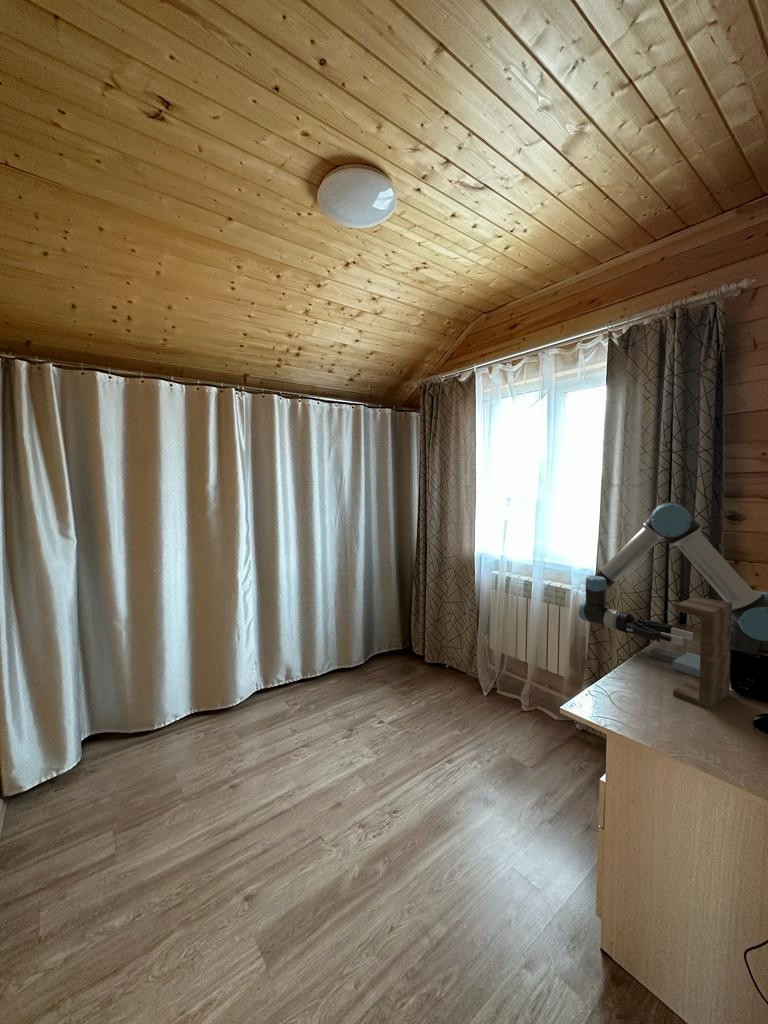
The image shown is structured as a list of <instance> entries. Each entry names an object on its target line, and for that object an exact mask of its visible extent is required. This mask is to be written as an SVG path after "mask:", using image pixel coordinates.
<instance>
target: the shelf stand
mask: <svg viewBox="0 0 768 1024" xmlns="http://www.w3.org/2000/svg"><path fill="white" fill-rule="evenodd" d="M674 610H675V612H678V613H683V614H688V615H691V616H697V617H701V620H700V621H701V622H700V650H699V651H700V653H699V656H700V677H699V678H698V677H697V678H696V677H692V678H690V679H689V680H687V681H686V682H685V683H682V684H681V685H680V686H678V687H676V688H675V689H673V691H672V694H673V696H675V697H677V698H680V699H682V700H684V701H688V702H690V703H693V704H696V705H697V706H700V707H703V708H705V709H708V710H710V709H712V708H713V707H714V706H716V705H717V704H718V703H719V702H721V701H722V700H723V699H724V698H726V697H727V696H728V695H729V694H730V675H731V674H730V673H731V672H730V671H731V669H730V668H731V652H730V649H731V620H732V603H729V602H725V600H723V601H722V600H718V599H713V598H706V597H702V596H697V595H696V596H694V597H690V598H689V599H685V600H682V601H680V602H678V603H675V606H674Z"/></svg>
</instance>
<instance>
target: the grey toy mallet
mask: <svg viewBox="0 0 768 1024" xmlns="http://www.w3.org/2000/svg"><path fill="white" fill-rule="evenodd" d="M650 656H651V657H650ZM649 657H650V658H652V657H654V658H653V659H656V658H657V660H659V661H663V662H666V663H669V664H671V665H672V669H673V670H676V671H679V672H682V673H684V674H688V675H692V676H695V677H697V678H700V654H699V655H698V654H695V653H692V652H686V653H685V654H683V655H681V654H678V653H675V652H671V651H669V650H664V649H661V648H658V647H654V648H651V649H650V650H649Z"/></svg>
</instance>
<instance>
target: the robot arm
mask: <svg viewBox="0 0 768 1024" xmlns="http://www.w3.org/2000/svg"><path fill="white" fill-rule="evenodd" d="M642 525H643V526H642V527H641V529H640V530H639V531H638V532H637V533H636V534H634V536H633V537H632V538H631V539H630V540H629V541H628V542H627V543H626V544H625V545H624V546H623V547H622V548H621V549H620V550H619V551H618V552H616V554H615V555H614V556H613V557H611V559H610V560H609V561H607V563H606V564H605V565H603V567H602V568H601V569H600V570H599V571H598V572H596V574H593V575H589V576H587V577H586V578H585V584H584V586H585V602H583V603H581V604H580V605H579V609H578V616H579V618H580V620H582V621H585V622H588V623H590V624H595V625H598V626H601V627H606V628H608V629H610V630H616V631H618V632H622V633H626V634H632V635H635V636H639V637H642V638H645V639H648V640H651V641H656V643H660V642H661V641H663V642H667V643H670V644H674V645H677V646H682V647H683V646H684V640H687V641H690V642H693V640H694V632H691V631H689V630H688V631H687V630H684V629H680V628H675V627H674V625H673V624H667V623H664V622H658V621H654V620H651V619H647V618H643V619H635V617H634V615H633V614H632V613H628V612H624V611H620V610H617V609H614V608H613V609H612V608H608V607H607V592H608V590H609V589H610V588H611V587H613V585H615V584H616V582H618V580H619V579H621V578H622V577H623V575H625V574H626V573H627V572H628V571H629V570H630V569H631V568H632V567H634V565H635V564H636V563H637V562H639V560H640V559H642V557H643V556H645V554H647V553H648V552H649V551H650V550H651V549H652V548H653V547H654V546H656V545H657V543H658V542H660V540H665V541H666V542H667V544H668V545H670V546H675V547H677V548H678V549H679V551H681V553H682V554H683V555H684V556H685V557H686V559H688V561H690V563H691V564H692V565H693V566H694V567H695V569H696V570H697V571H698V572H699V573H700V575H702V577H703V578H704V579H705V580H706V581H707V582H708V583H709V585H710V586H711V587H712V588H713V589H714V591H716V592H717V594H718V595H719V597H721V598H722V599H723V601H724V602H729V603H732V620H731V649H732V650H736V651H742V652H748V653H754V654H760V655H768V592H766V591H759V590H754V589H752V588H751V587H750V586H749V584H747V582H746V581H744V579H743V578H742V577H741V576H740V575H739V573H737V571H736V570H735V569H734V568H733V567H732V566H731V565H730V564H729V562H728V561H727V560H726V559H725V558H724V557H723V556H722V555H721V554H720V553H719V552H718V551H717V550H716V548H715V546H713V545H712V544H711V543H710V542H709V541H708V539H707V538H706V537H705V536H704V535H703V534H702V531H701V530H702V526H701V525H700V524H699V523H698V521H697V520H696V519H695V518H694V517H693V516H692V515H691V513H690V512H689V511H688V510H687V508H685V507H684V505H682V504H680V503H678V502H674V501H667V502H666V501H665V502H663V503H660V504H657V506H656V507H655V508H654V509H653V511H652V513H651V514H650V515H649V517H648V518H647V519H646V520H645V521H644V522H643V524H642Z"/></svg>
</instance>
